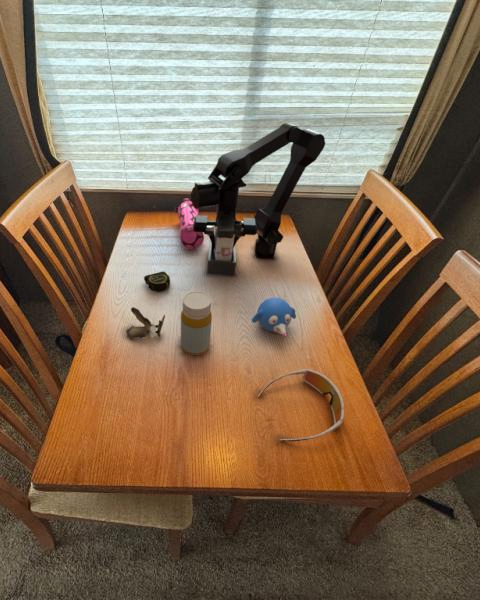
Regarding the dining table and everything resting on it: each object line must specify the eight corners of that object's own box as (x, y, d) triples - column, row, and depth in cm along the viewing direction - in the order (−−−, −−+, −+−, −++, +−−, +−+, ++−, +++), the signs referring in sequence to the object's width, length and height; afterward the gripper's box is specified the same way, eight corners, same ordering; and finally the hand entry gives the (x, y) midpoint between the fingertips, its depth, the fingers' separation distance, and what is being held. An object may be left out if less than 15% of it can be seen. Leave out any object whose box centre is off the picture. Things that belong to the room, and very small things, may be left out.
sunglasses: (353, 429, 63) (359, 417, 60) (284, 455, 61) (286, 445, 58) (313, 372, 74) (317, 359, 70) (253, 393, 72) (253, 381, 68)
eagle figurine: (165, 318, 84) (132, 309, 84) (165, 312, 78) (129, 302, 77) (157, 346, 82) (123, 337, 82) (157, 343, 76) (120, 333, 75)
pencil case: (174, 222, 127) (173, 197, 120) (198, 221, 128) (199, 197, 121) (178, 251, 111) (178, 225, 104) (206, 250, 112) (207, 224, 105)
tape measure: (165, 278, 99) (165, 268, 97) (173, 291, 95) (173, 281, 92) (144, 283, 97) (143, 273, 95) (151, 297, 92) (150, 287, 90)
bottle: (212, 339, 81) (217, 293, 71) (204, 359, 76) (207, 314, 66) (186, 332, 82) (187, 286, 73) (176, 352, 77) (176, 306, 68)
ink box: (212, 253, 108) (215, 221, 100) (226, 253, 109) (231, 221, 101) (215, 268, 102) (218, 235, 94) (230, 268, 102) (235, 235, 95)
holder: (233, 253, 110) (235, 241, 107) (234, 275, 101) (236, 262, 98) (208, 252, 111) (209, 239, 107) (207, 274, 101) (208, 261, 98)
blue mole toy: (258, 350, 78) (264, 326, 73) (244, 317, 87) (249, 293, 82) (304, 345, 80) (314, 321, 74) (286, 312, 89) (293, 289, 83)
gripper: (192, 213, 86) (191, 261, 97) (262, 217, 85) (253, 265, 96) (195, 196, 95) (194, 242, 105) (259, 199, 94) (251, 245, 104)
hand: (222, 249), depth 102 cm, fingers closed on ink box, 5 cm apart
